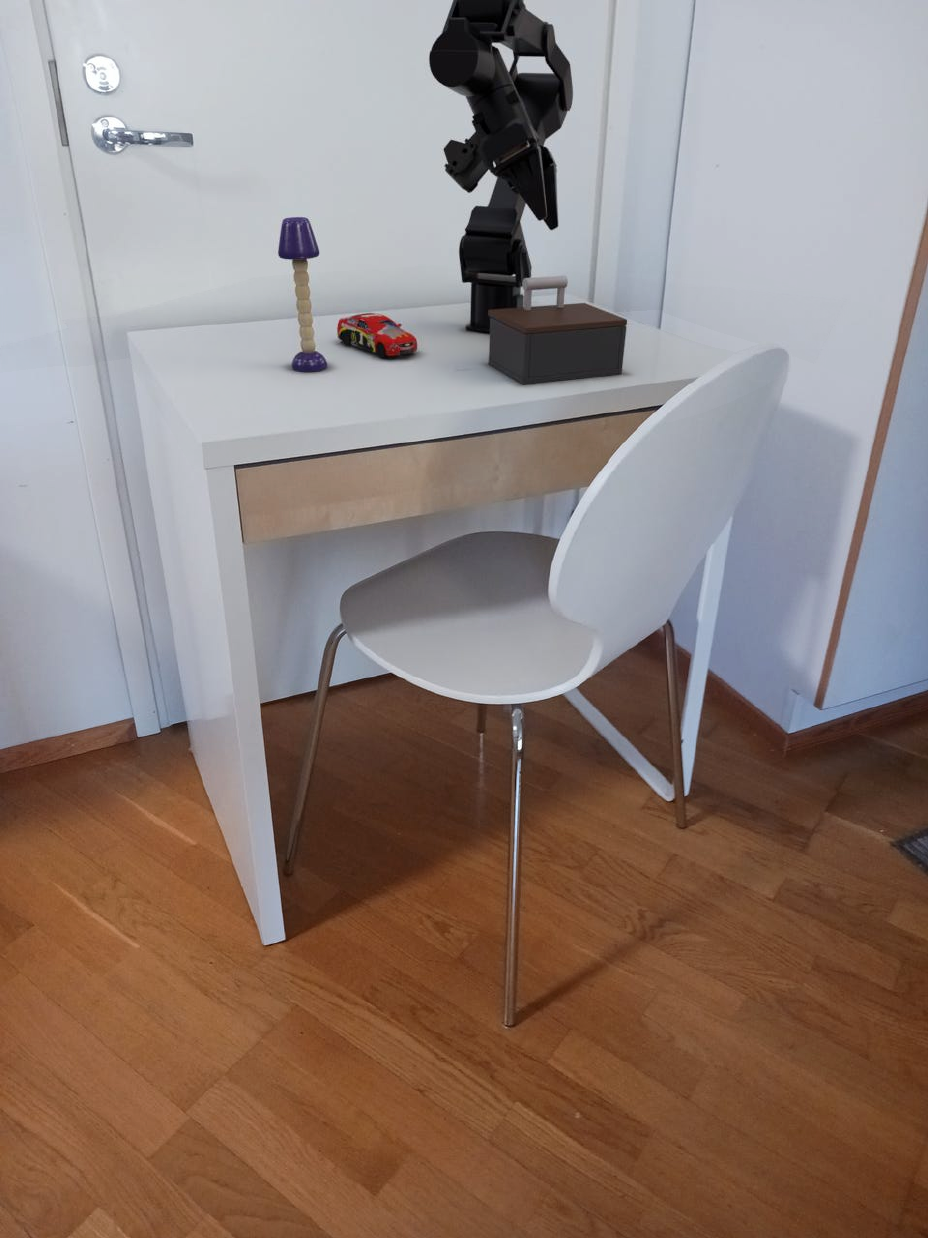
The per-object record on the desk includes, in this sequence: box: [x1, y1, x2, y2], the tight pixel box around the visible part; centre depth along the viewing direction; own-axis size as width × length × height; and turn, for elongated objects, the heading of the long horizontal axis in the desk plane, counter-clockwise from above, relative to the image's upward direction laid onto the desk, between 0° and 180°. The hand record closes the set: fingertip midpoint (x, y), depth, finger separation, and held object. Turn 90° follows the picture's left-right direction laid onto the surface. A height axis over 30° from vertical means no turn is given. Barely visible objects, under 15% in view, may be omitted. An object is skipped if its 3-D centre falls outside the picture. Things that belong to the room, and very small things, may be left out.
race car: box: [336, 312, 418, 359], centre depth 122 cm, size 13×5×4 cm, turn 39°
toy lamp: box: [277, 216, 328, 373], centre depth 110 cm, size 5×5×17 cm
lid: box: [488, 275, 628, 334], centre depth 112 cm, size 10×13×4 cm
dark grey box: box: [488, 317, 627, 385], centre depth 115 cm, size 9×13×6 cm
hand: (549, 223), depth 115 cm, fingers open, 9 cm apart
